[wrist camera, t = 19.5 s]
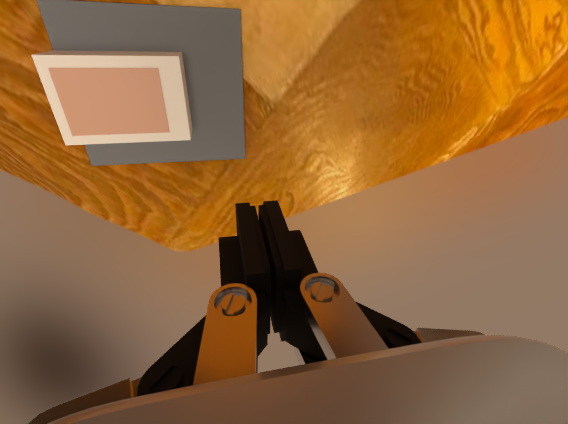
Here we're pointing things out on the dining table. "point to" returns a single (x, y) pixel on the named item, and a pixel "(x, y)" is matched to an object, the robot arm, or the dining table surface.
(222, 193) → the dining table surface
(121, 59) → the slab
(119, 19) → the mat
